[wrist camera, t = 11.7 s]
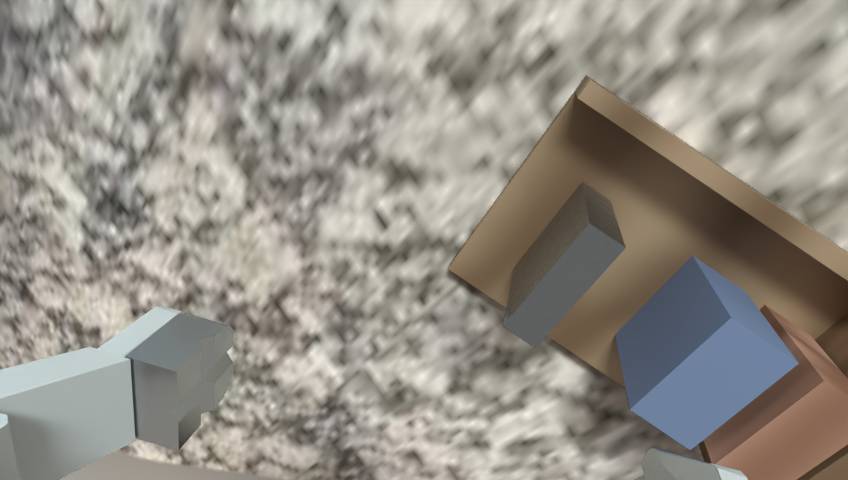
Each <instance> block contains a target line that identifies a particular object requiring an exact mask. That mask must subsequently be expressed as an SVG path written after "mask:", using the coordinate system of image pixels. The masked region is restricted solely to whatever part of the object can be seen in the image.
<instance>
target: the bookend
mask: <svg viewBox="0 0 848 480" xmlns="http://www.w3.org/2000/svg"><path fill="white" fill-rule="evenodd" d="M625 248H626V247H625V244H624V240H623V237H622V234H621V231H620V228H619V225H618V222H617V219H616V216H615V213H614V210H613V207H612V204H611V201H610V200H608V199H607V198H605V197H604V196H602V195H601V194H600V193H598V192H597V191H595V190H594V189H592V188H591V187H589V186H588V185H586V184H585V183H583V182H582V183H581V184H580V185H579V187H578V188H577V189H576V190H575V192H574V193H573V194H572V195H571V197H570V198H569V199H568V200H567V202H566V203H565V204H564V205H563V207H562V208H561V209H560V210H559V212H558V213H557V214H556V215H555V217H554V218H553V219H552V220H551V222H550V223H549V224H548V225H547V227H546V228H545V229H544V231H543V232H542V233H541V234H540V236H539V237H538V238H537V239H536V241H535V242H534V243H533V244H532V246H531V247H530V248H529V249H528V251H527V252H526V253H525V254H524V256H523V257H522V258H521V259H520V261H519V262H518V263H517V264H516V266H515V267H514V270H513V275H512V280H511V286H510V291H509V296H508V301H507V307H506V312H505V317H504V322H503V327H504V328H506V329H507V330H509V331H510V332H512V333H513V334H515V335H516V336H518V337H519V338H521V339H522V340H524V341H525V342H527V343H528V344H530V345H531V346H533V347H534V348H536V347H537V346H538V345H539V344H540V342H541V341H542V340H543V339H544V338H545V337H546V336H547V335H548V334H549V332H550V331H551V330H552V329H553V328H554V327H555V326H556V325H557V324H558V322H559V321H560V320H561V319H562V318H563V317H564V316H565V315H566V314H567V313H568V311H569V310H570V309H571V308H572V307H573V306H574V305H575V304H576V303H577V301H578V300H579V299H580V298H581V297H582V296H583V295H584V294H585V293H586V291H587V290H588V289H589V288H590V287H591V286H592V285H593V284H594V283H595V282H596V280H597V279H598V278H599V277H600V276H601V275H602V274H603V273H604V272H605V270H606V269H607V268H608V267H609V266H610V265H611V264H612V263H613V262H614V260H615V259H616V258H617V257H618V256H619V255H620V254H621V253H622V252H623V251H624V249H625Z"/></svg>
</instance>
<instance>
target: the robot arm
mask: <svg viewBox="0 0 848 480" xmlns="http://www.w3.org/2000/svg"><path fill="white" fill-rule="evenodd" d="M233 345H234V331H233V330H232V328H231V327H230V326H227V325H224V324H221V323H217V322H214V321H211V320H208V319H205V318H201V317H198V316H195V315H192V314H189V313H183V312H181V311H178V310H174V309H171V308H168V307H165V306H159V307H154V308H153V309H152V310H150V311H149V312H147V313H146V314H145V315H143V316H142V317H141V318H139V319H138V320H136V321H135V322H134V323H132V324H131V325H129V326H128V327H127V328H125V329H124V330H123V331H121V332H120V333H118V334H117V335H116V336H114V337H113V338H112V339H110V340H109V341H107V342H106V343H105V344H103V345H102V346H100V347H99V348H98V349H95V348H92V347H87V348H83V349H80V350H76V351H72V352H68V353H64V354H60V355H56V356H52V357H48V358H44V359H41V360H37V361H33V362H29V363H25V364H21V365H17V366H13V367H9V368H5V369H2V370H0V480H59V479H61V478H63V477H65V476H67V475H69V474H71V473H72V472H74V471H77V470H79V469H81V468H83V467H85V466H86V465H89V464H90V463H92V462H94V461H96V460H98V459H100V458H102V457H104V456H106V455H108V454H110V453H112V452H114V451H116V450H118V449H120V448H122V447H124V446H126V445H128V444H130V443H132V442H134V441H135V440H136V438H137V439H141V440H144V441H148V442H151V443H155V444H158V445H162V446H165V447H169V448H172V449H176V450H179V449H180V448H181V447H182V446H183V445H184V444H185V443H186V441H187V440H188V439H189V438H190V437H191V436H192V434H193V433H194V432H195V431H196V430H197V429H198V427H199V426H200V425H201V414H202V413H205V412H207V411H210V410H212V409H215V407H216V406H217V405H218V404H219V402H220V401H221V400H222V399H223V397H224V395H225V393H226V391H227V389H228V387H229V385H230V381H231V377H232V373H233V362H232V360H231V359H230V357H229V355H228V354H227V351H228V350H229V349H230V348H231V347H232V346H233ZM642 467H643V472H644V475H643V476H641V477H639V478H637V479H635V480H748V479H747V477H746V476H745V475H744V474H743V473H742V472H741V471H739V470H735V469H731V468H728V467H724V466H720V465H716V464H712V463H710V464H709V463H706V462H702V461H699V460H695V459H692V458H688V457H684V456H681V455H677V454H674V453H670V452H667V451H663V450H659V449H656V448H651V449H650V450H649V451H648V452H647V453H646V455H645V457H644V459H643V461H642Z"/></svg>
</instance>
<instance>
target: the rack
mask: <svg viewBox="0 0 848 480" xmlns="http://www.w3.org/2000/svg"><path fill="white" fill-rule="evenodd" d="M582 182H583V183H585V184H586V185H588V186H589V187H591V188H592V189H594V190H595V191H597V192H598V193H600V194H601V195H602V196H604V197H605V198H607V199H608V200H610V201H611V204H612V207H613V210H614V213H615V216H616V219H617V222H618V225H619V228H620V231H621V234H622V237H623V240H624V244H625V247H626V248H625V249H624V251H623V252H622V253H621V254H620V255H619V256H618V257H617V258H616V259H615V260H614V262H613V263H612V264H611V265H610V266H609V267H608V268H607V269H606V270H605V272H604V273H603V274H602V275H601V276H600V277H599V278H598V279H597V280H596V282H595V283H594V284H593V285H592V286H591V287H590V288H589V289H588V290H587V291H586V293H585V294H584V295H583V296H582V297H581V298H580V299H579V300H578V301H577V303H576V304H575V305H574V306H573V307H572V308H571V309H570V310H569V311H568V313H567V314H566V315H565V316H564V317H563V318H562V319H561V320H560V321H559V322H558V324H557V325H556V326H555V327H554V328H553V329H552V330H551V331H550V332H549V334H548V335H547V336H548V337H550V338H551V339H553V340H554V341H555V342H557V343H558V344H560V345H561V346H563V347H564V348H566V349H567V350H569V351H570V352H572V353H573V354H575V355H576V356H578V357H579V358H581V359H582V360H584V361H585V362H587V363H588V364H590V365H591V366H593V367H594V368H596V369H597V370H598V371H600V372H601V373H603V374H604V375H606V376H607V377H609V378H610V379H612V380H613V381H615V382H616V383H618V384H619V385H621V386H622V387H624V388H625V383H624V378H623V372H622V367H621V362H620V357H619V352H618V347H617V342H616V336H615V334H616V333H617V332H618V331H619V330H620V329H621V328H622V327H623V326H624V325H625V324H626V323H627V322H628V321H629V320H630V319H631V318H632V317H633V316H634V315H635V314H636V313H637V312H638V311H639V309H640V308H641V307H642V306H643V305H644V304H645V303H646V302H647V301H648V300H649V299H650V298H651V297H652V296H653V295H654V294H655V293H656V292H657V291H658V290H659V289H660V288H661V287H662V286H663V285H664V284H665V283H666V282H667V281H668V280H669V279H670V278H671V277H672V276H673V275H674V274H675V273H676V272H677V271H678V270H679V269H680V268H681V267H682V266H683V265H684V264H685V263H686V262H687V261H688V260H689V259H690V258H691V257H692V256H694V257H696V258H697V259H698V260H700V261H701V262H703V263H704V264H706V265H707V266H709V267H710V268H712V269H713V270H715V271H716V272H718V273H719V274H721V275H722V276H724V277H725V278H727V279H728V280H730V281H731V282H733V283H734V284H735V285H737V286H738V287H740V288H741V289H743V290H744V291H746V293H747V294H748V295H749V297H750V298H751V299H752V301H753V302H754V303H755V305H756V306H757V308H758V309H759V310H760V312H761V313H762V314H763V316H764V317H765V318H766V320H767V321H768V322H769V324H770V325H771V326H772V328H773V329H774V330H775V332H776V333H777V334H778V336H779V337H780V338H781V340H782V341H783V342H784V344H785V345H786V347H787V348H788V349H789V351H790V352H791V353H792V355H793V356H794V357H795V359H796V360H797V361H798V363H799V364H798V365H796V366H795V367H794V368H793V369H791V370H790V371H789V372H788V373H786V374H785V375H784V376H783V377H781V378H780V379H779V380H778V381H776V382H775V383H774V384H773V385H771V386H770V387H769V388H768V389H766V390H765V391H764V392H763V393H761V394H760V395H759V396H758V397H756V398H755V399H754V400H753V401H751V402H750V403H749V404H748V405H746V406H745V407H744V408H743V409H741V410H740V411H739V412H738V413H736V414H735V415H734V416H733V417H731V418H730V419H729V420H728V421H726V422H725V423H724V424H723V425H721V426H720V427H719V428H718V429H716V430H715V431H714V432H713V433H711V434H710V435H709V436H708V437H706V438H705V439H704V440H703V441H701V442H700V443H699V446H700V449H701V452H702V455H703V458H704V461H705V462H706V463H709V464H710V463H712V464H716V465H720V466H724V467H728V468H731V469H735V470H739V471H741V472H742V473H743V474H744V475H745V476H746V477H747V479H748V480H848V252H846V251H845V250H843V249H842V248H841V247H839V246H838V245H836V244H835V243H833V242H832V241H830V240H829V239H827V238H826V237H824V236H823V235H821V234H820V233H818V232H817V231H815V230H814V229H812V228H811V227H809V226H808V225H807V224H805V223H804V222H802V221H801V220H799V219H798V218H796V217H795V216H793V215H792V214H790V213H789V212H787V211H786V210H784V209H783V208H781V207H780V206H778V205H777V204H775V203H774V202H773V201H771V200H770V199H768V198H767V197H765V196H764V195H762V194H761V193H759V192H758V191H756V190H755V189H753V188H752V187H750V186H749V185H747V184H746V183H744V182H743V181H741V180H740V179H739V178H737V177H736V176H734V175H733V174H731V173H730V172H728V171H727V170H725V169H724V168H722V167H721V166H719V165H718V164H716V163H715V162H713V161H712V160H710V159H709V158H707V157H706V156H705V155H703V154H702V153H700V152H699V151H697V150H696V149H694V148H693V147H691V146H690V145H688V144H687V143H685V142H684V141H682V140H681V139H679V138H678V137H676V136H675V135H673V134H672V133H671V132H669V131H668V130H666V129H665V128H663V127H662V126H660V125H659V124H657V123H656V122H654V121H653V120H651V119H650V118H648V117H647V116H645V115H644V114H642V113H641V112H639V111H638V110H637V109H635V108H634V107H632V106H631V105H629V104H628V103H626V102H625V101H623V100H622V99H620V98H619V97H617V96H616V95H614V94H613V93H611V92H610V91H608V90H607V89H605V88H604V87H603V86H601V85H600V84H598V83H597V82H595V81H594V80H592V79H591V78H589V77H588V76H585V78H584V79H583V81H582V82H581V83H580V85H579V86H578V87H577V89H576V90H575V92H574V93H573V94H572V96H571V97H570V98H569V100H568V101H567V103H566V104H565V105H564V107H563V108H562V110H561V111H560V112H559V114H558V115H557V116H556V118H555V119H554V121H553V122H552V123H551V125H550V126H549V128H548V129H547V130H546V132H545V133H544V134H543V136H542V137H541V139H540V140H539V141H538V143H537V144H536V145H535V147H534V148H533V150H532V151H531V152H530V154H529V155H528V157H527V158H526V159H525V161H524V162H523V163H522V165H521V166H520V168H519V169H518V170H517V172H516V173H515V175H514V176H513V177H512V179H511V180H510V181H509V183H508V184H507V186H506V187H505V188H504V190H503V191H502V192H501V194H500V195H499V197H498V198H497V199H496V201H495V202H494V204H493V205H492V206H491V208H490V209H489V210H488V212H487V213H486V215H485V216H484V217H483V219H482V220H481V222H480V223H479V224H478V226H477V227H476V228H475V230H474V231H473V233H472V234H471V235H470V237H469V238H468V239H467V241H466V242H465V244H464V245H463V246H462V248H461V249H460V251H459V252H458V253H457V255H456V256H455V257H454V259H453V260H452V262H451V263H450V265H449V267H448V269H449V270H450V271H452V272H453V273H455V274H456V275H458V276H459V277H461V278H462V279H464V280H465V281H467V282H468V283H469V284H471V285H472V286H474V287H475V288H477V289H478V290H480V291H481V292H483V293H484V294H486V295H487V296H489V297H490V298H492V299H493V300H495V301H496V302H498V303H499V304H501V305H502V306H504V307H505V308H506V307H507V301H508V296H509V291H510V286H511V280H512V275H513V270H514V267H515V266H516V264H517V263H518V262H519V261H520V259H521V258H522V257H523V256H524V254H525V253H526V252H527V251H528V249H529V248H530V247H531V246H532V244H533V243H534V242H535V241H536V239H537V238H538V237H539V236H540V234H541V233H542V232H543V231H544V229H545V228H546V227H547V225H548V224H549V223H550V222H551V220H552V219H553V218H554V217H555V215H556V214H557V213H558V212H559V210H560V209H561V208H562V207H563V205H564V204H565V203H566V202H567V200H568V199H569V198H570V197H571V195H572V194H573V193H574V192H575V190H576V189H577V188H578V187H579V185H580V184H581V183H582ZM625 389H626V388H625Z"/></svg>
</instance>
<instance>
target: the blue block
mask: <svg viewBox="0 0 848 480" xmlns="http://www.w3.org/2000/svg"><path fill="white" fill-rule="evenodd" d="M615 336H616V342H617V347H618V352H619V357H620V362H621V367H622V372H623V378H624V383H625V388H626V393H627V398H628V403H629V408H630V410H631V411H632V412H634V413H635V414H637V415H638V416H640V417H641V418H643V419H644V420H646V421H647V422H649V423H650V424H652V425H653V426H655V427H656V428H658V429H659V430H661V431H662V432H664V433H665V434H667V435H668V436H669V437H671V438H672V439H674V440H675V441H677V442H678V443H680V444H681V445H683V446H684V447H686V448H687V449H689V450H691V449H693V448H694V447H695V446H696V445H698V444H699V443H700V442H701V441H703V440H704V439H705V438H706V437H708V436H709V435H710V434H711V433H713V432H714V431H715V430H716V429H718V428H719V427H720V426H721V425H723V424H724V423H725V422H726V421H728V420H729V419H730V418H731V417H733V416H734V415H735V414H736V413H738V412H739V411H740V410H741V409H743V408H744V407H745V406H746V405H748V404H749V403H750V402H751V401H753V400H754V399H755V398H756V397H758V396H759V395H760V394H761V393H763V392H764V391H765V390H766V389H768V388H769V387H770V386H771V385H773V384H774V383H775V382H776V381H778V380H779V379H780V378H781V377H783V376H784V375H785V374H786V373H788V372H789V371H790V370H791V369H793V368H794V367H795V366H796V365H798V364H799V363H798V361H797V360H796V359H795V357H794V356H793V355H792V353H791V352H790V351H789V349H788V348H787V347H786V345H785V344H784V342H783V341H782V340H781V338H780V337H779V336H778V334H777V333H776V332H775V330H774V329H773V328H772V326H771V325H770V324H769V322H768V321H767V320H766V318H765V317H764V316H763V314H762V313H761V312H760V310H759V309H758V308H757V306H756V305H755V303H754V302H753V301H752V299H751V298H750V297H749V295H748V294H747V293H746V291H744V290H743V289H741V288H740V287H738V286H737V285H735V284H734V283H733V282H731V281H730V280H728V279H727V278H725V277H724V276H722V275H721V274H719V273H718V272H716V271H715V270H713V269H712V268H710V267H709V266H707V265H706V264H704V263H703V262H701V261H700V260H698V259H697V258H696V257H694V256H692V257H691V258H690V259H689V260H688V261H687V262H686V263H685V264H684V265H683V266H682V267H681V268H680V269H679V270H678V271H677V272H676V273H675V274H674V275H673V276H672V277H671V278H670V279H669V280H668V281H667V282H666V283H665V284H664V285H663V286H662V287H661V288H660V289H659V290H658V291H657V292H656V293H655V294H654V295H653V296H652V297H651V298H650V299H649V300H648V301H647V302H646V303H645V304H644V305H643V306H642V307H641V308H640V309H639V311H638V312H637V313H636V314H635V315H634V316H633V317H632V318H631V319H630V320H629V321H628V322H627V323H626V324H625V325H624V326H623V327H622V328H621V329H620V330H619V331H618V332H617V333H616V334H615Z"/></svg>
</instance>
